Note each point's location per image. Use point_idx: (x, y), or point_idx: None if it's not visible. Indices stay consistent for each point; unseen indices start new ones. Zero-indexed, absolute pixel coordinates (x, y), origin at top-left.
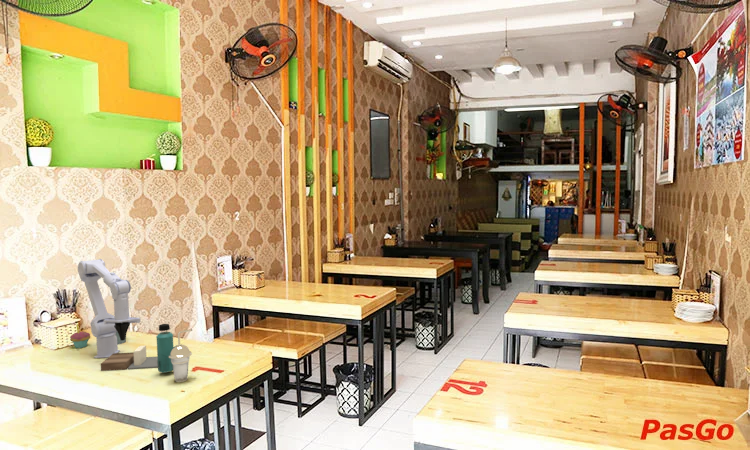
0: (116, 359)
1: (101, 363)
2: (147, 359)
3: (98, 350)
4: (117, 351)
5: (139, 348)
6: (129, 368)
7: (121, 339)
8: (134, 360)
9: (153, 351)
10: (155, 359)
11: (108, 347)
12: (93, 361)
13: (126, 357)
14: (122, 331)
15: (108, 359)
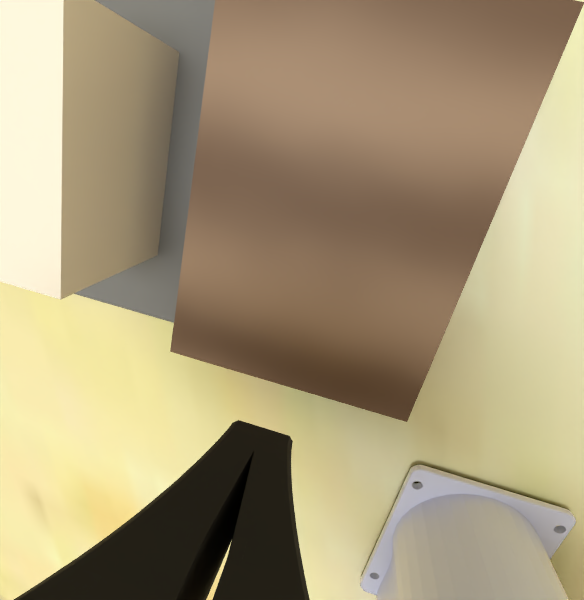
0: (363, 151)
1: (569, 16)
2: None
3: (555, 575)
4: (376, 564)
5: (22, 148)
6: None
7: (271, 440)
8: (144, 33)
9: (117, 459)
10: None
11: (462, 569)
12: (581, 430)
13: (252, 190)
14: (150, 583)
15: (463, 197)
